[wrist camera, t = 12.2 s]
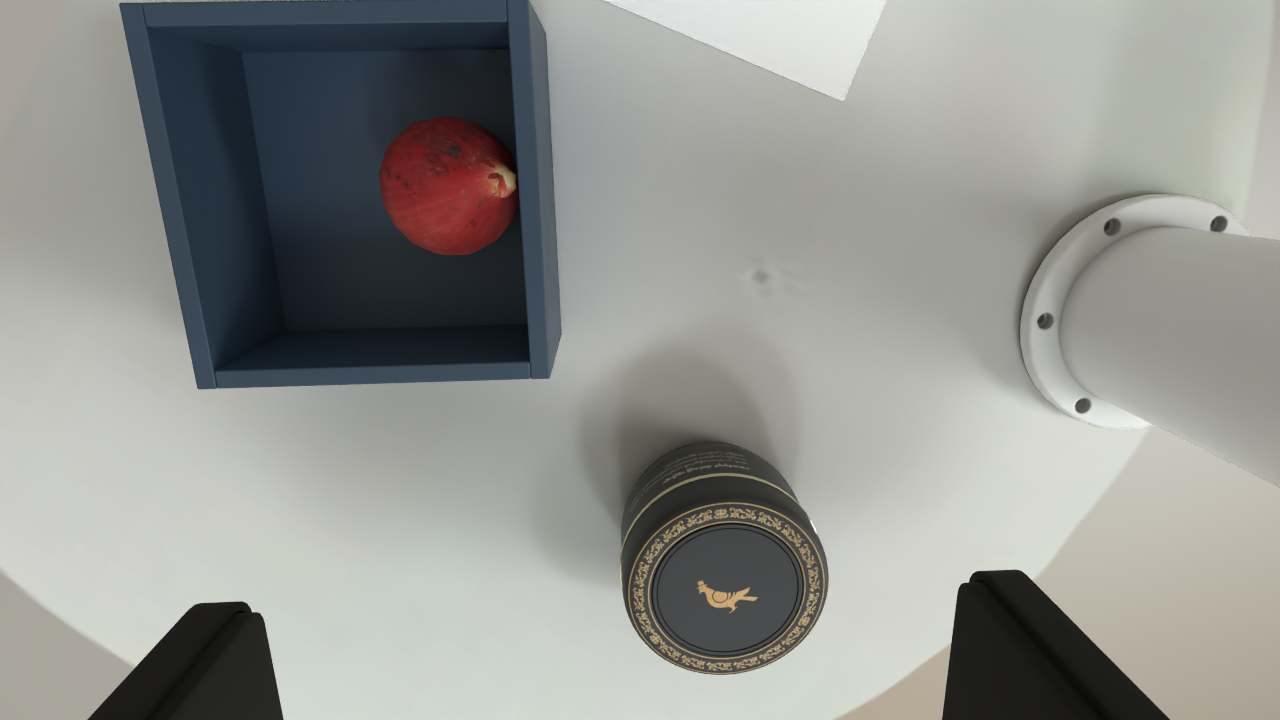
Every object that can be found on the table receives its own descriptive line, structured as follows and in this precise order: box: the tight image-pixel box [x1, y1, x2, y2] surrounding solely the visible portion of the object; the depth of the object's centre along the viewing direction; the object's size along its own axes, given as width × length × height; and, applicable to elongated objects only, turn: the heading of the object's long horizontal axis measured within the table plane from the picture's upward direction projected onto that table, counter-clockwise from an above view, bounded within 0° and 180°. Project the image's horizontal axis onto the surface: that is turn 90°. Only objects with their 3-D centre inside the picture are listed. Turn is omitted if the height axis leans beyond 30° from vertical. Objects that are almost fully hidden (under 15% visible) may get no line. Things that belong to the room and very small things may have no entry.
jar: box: [620, 442, 828, 675], centre depth 37 cm, size 10×10×8 cm
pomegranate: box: [379, 116, 519, 255], centre depth 31 cm, size 6×6×8 cm
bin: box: [119, 0, 561, 389], centre depth 31 cm, size 15×15×8 cm
